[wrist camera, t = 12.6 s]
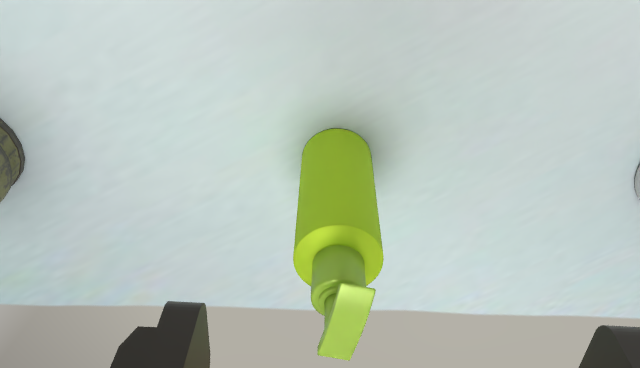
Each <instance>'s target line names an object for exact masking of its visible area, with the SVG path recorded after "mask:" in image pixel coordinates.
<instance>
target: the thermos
mask: <svg viewBox="0 0 640 368" xmlns="http://www.w3.org/2000/svg"><path fill="white" fill-rule="evenodd" d="M24 161H25V157H24V153H23V149H22V145H21V143H20V141H19V140H18V138H17V137H16V135H15V133H14V132H13V130H12V129H11V128H10V127H9V126H8V125H7V124H6V123H4V122H3V121H2V120H1V119H0V202H1V201H2V200H3V199H4V197H5V196H6V194H7V193H8V191H9V190H10V188H11V186H12V185H13V184H14V183H15V182H16V181H17V180H18V178H19V177H20V175H21V173H22V172H23V169H24Z"/></svg>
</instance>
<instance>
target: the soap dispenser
mask: <svg viewBox="0 0 640 368" xmlns="http://www.w3.org/2000/svg"><path fill="white" fill-rule="evenodd" d="M293 261H294V267H295V269H296V272H297V273H298V275H299V276H300V278H301V279H302V280H303V281H304V282H306V283H307V284H308V285H310V286H311V302H312V305H313V307H314V308H315V309H316V310H317V311H318V312H319V313H320V314H322V315H324V316H325V326H324V332H323V334H322V337H321V340H320V342H319V345H318V355H320V356H326V357H332V358H337V359H344V360H350V358H351V356H352V354H353V352H354V350H355V348H356V346H357V343H358V341H359V338H360V336H361V334H362V332H363V329H364V326H365V324H366V321H367V317H368V315H369V312H370V308H371V305H372V302H373V298H374V295H375V291H376V290H375V289H373V288H368V287H366V286H367V285H368V284H370V283H371V282H372V281H373V280H374V279H375V278H376V277H377V276H378V274H379V273H380V271H381V268H382V265H383V250H382V241H381V233H380V225H379V217H378V208H377V200H376V192H375V184H374V175H373V167H372V159H371V152H370V149H369V147H368V145H367V143H366V142H365V141H364V140H363V139H362V138H361V137H360V136H359V135H357V134H356V133H354V132H352V131H349V130H345V129H328V130H325V131H322V132H320V133H318V134H316V135H315V136H313V137H312V138H311V139H310V140H309V141H308V143H307V144H306V146H305V148H304V150H303V154H302V164H301V175H300V187H299V198H298V210H297V221H296V233H295V244H294V256H293Z"/></svg>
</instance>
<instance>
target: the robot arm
mask: <svg viewBox="0 0 640 368" xmlns="http://www.w3.org/2000/svg"><path fill="white" fill-rule="evenodd" d="M635 190H636V194H637V196H638V198H639V200H640V166H639V167H638V170H637V173H636V177H635ZM110 368H210V346H209V336H208V324H207V312H206V305H205V303H192V302H173V301H168V302H167V303H166V305H165V306H164V309H163V312H162V315H161V318H160V320H159V323H158V326H157V327H137V328H136V329H135V330H134V331H133V332H132V333H131V334H130V336H129V337H128V338H127V339H126V340H125V341H124V342H123V343H122V344H121V345H120V346H119V348H118V350H117V353H116V355H115V357H114V360H113V362H112V364H111V367H110ZM579 368H640V327H623V326H604V325H603V326H600V327H598V328H597V330H596V332H595V333H594V336H593V338H592V340H591V342H590V344H589V347H588V349H587V351H586V353H585V355H584V357H583V360H582V362H581V364H580V366H579Z"/></svg>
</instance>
